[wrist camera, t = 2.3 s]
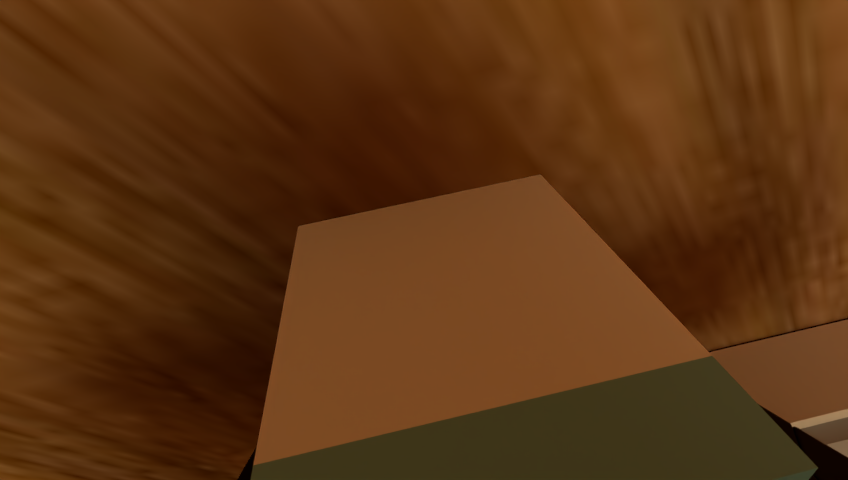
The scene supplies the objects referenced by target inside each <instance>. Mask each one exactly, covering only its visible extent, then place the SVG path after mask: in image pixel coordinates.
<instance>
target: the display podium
mask: <svg viewBox="0 0 848 480" xmlns="http://www.w3.org/2000/svg"><path fill="white" fill-rule="evenodd" d="M709 353H710V354H711V355H712V356H713V357H714V358H715V359H716V360H717V361H718V362H719V363H720V365H721V366H722V367H723V368H724V369H725V370H726V371H727V372H728V373H729V374H730V375H731V376H732V377H733V378H734V379H735V380H736V381H737V382H738V384H739V385H740V386H741V387H742V388H743V389H744V390H745V391H746V392H747V393H748V394H749V395H750V396H751V397H752V398H753V399H754V400H755V402H756V403H758V404H759V405H761V406H763V407H764V408H766V409H767V410H769V411H771V412H772V413H774V414H776V415H777V416H779V417H781V418H782V419H784V420H786V421H787V422H789V423H790V424H791V425H792V427H798V428H799V429H801V430H803V431H804V432H806V433H807V434H809V435H811V436H812V437H814V438H816V439H817V440H819V441H821V442H822V443H824V444H826V445H828V446H829V447H831V448H833V449H835V450H836V451H838V452H840V453H841V454H843V455H845V456H847V457H848V319H847V320H843V321H839V322H835V323H830V324H826V325H822V326H818V327H814V328H809V329H805V330H801V331H797V332H793V333H788V334H784V335H780V336H776V337H772V338H767V339H763V340H759V341H755V342H751V343H746V344H742V345H738V346H734V347H730V348H726V349H721V350H717V351H713V352H709Z"/></svg>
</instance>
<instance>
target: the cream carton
mask: <svg viewBox="0 0 848 480" xmlns="http://www.w3.org/2000/svg"><path fill="white" fill-rule="evenodd" d="M817 469H818V467H817V466H816V465H815V464H814V463H813V462H812V461H811V460H810V459H809V458H808V456H807V455H806V454H805V453H804V452H803V451H802V450H801V449H800V448H799V447H798V446H797V445H796V444H795V443H794V442H793V441H792V440H791V439H790V437H789V436H788V435H787V434H786V433H785V432H784V431H783V430H782V429H781V428H780V427H779V426H778V425H777V424H776V423H775V422H774V421H773V419H772V418H771V417H770V416H769V415H768V414H767V413H766V412H765V411H764V410H763V409H762V408H761V407H760V406H759V405H758V404H757V403H756V402H755V400H754V399H753V398H752V397H751V396H750V395H749V394H748V393H747V392H746V391H745V390H744V389H743V388H742V387H741V386H740V385H739V384H738V382H737V381H736V380H735V379H734V378H733V377H732V376H731V375H730V374H729V373H728V372H727V371H726V370H725V369H724V368H723V367H722V366H721V365H720V363H719V362H718V361H717V360H716V359H715V358H714V357H713V356H712V355H711V354H710V353H709V352H708V351H707V350H706V349H705V348H704V347H703V345H702V344H701V343H700V342H699V341H698V340H697V339H696V338H695V337H694V336H693V335H692V334H691V333H690V332H689V331H688V330H687V329H686V328H685V326H684V325H683V324H682V323H681V322H680V321H679V320H678V319H677V318H676V317H675V316H674V315H673V314H672V313H671V312H670V311H669V310H668V308H667V307H666V306H665V305H664V304H663V303H662V302H661V301H660V300H659V299H658V298H657V297H656V296H655V295H654V294H653V293H652V292H651V291H650V289H649V288H648V287H647V286H646V285H645V284H644V283H643V282H642V281H641V280H640V279H639V278H638V277H637V276H636V275H635V274H634V273H633V271H632V270H631V269H630V268H629V267H628V266H627V265H626V264H625V263H624V262H623V261H622V260H621V259H620V258H619V257H618V256H617V255H616V254H615V252H614V251H613V250H612V249H611V248H610V247H609V246H608V245H607V244H606V243H605V242H604V241H603V240H602V239H601V238H600V237H599V236H598V234H597V233H596V232H595V231H594V230H593V229H592V228H591V227H590V226H589V225H588V224H587V223H586V222H585V221H584V220H583V219H582V218H581V217H580V215H579V214H578V213H577V212H576V211H575V210H574V209H573V208H572V207H571V206H570V205H569V204H568V203H567V202H566V201H565V200H564V199H563V197H562V196H561V195H560V194H559V193H558V192H557V191H556V190H555V189H554V188H553V187H552V186H551V185H550V184H549V183H548V182H547V181H546V180H545V178H544V177H543V176H542V175H541V174H540V175H535V176H530V177H526V178H521V179H516V180H512V181H507V182H502V183H498V184H493V185H488V186H483V187H479V188H474V189H469V190H465V191H460V192H455V193H451V194H446V195H441V196H437V197H432V198H427V199H423V200H418V201H413V202H409V203H404V204H399V205H395V206H390V207H385V208H380V209H376V210H371V211H366V212H362V213H357V214H352V215H348V216H343V217H338V218H334V219H329V220H324V221H320V222H315V223H310V224H306V225H301V226H298V230H297V235H296V241H295V246H294V251H293V257H292V262H291V267H290V273H289V278H288V283H287V288H286V294H285V299H284V304H283V310H282V315H281V320H280V326H279V331H278V336H277V342H276V347H275V352H274V357H273V363H272V368H271V373H270V379H269V384H268V389H267V395H266V400H265V405H264V411H263V416H262V421H261V427H260V432H259V437H258V442H257V448H256V453H255V458H254V464H253V469H252V474H251V480H809V478H810V477H811V476H812V475H813V474H814V472H815V471H816V470H817Z"/></svg>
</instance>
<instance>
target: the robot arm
mask: <svg viewBox="0 0 848 480" xmlns="http://www.w3.org/2000/svg"><path fill="white" fill-rule="evenodd" d="M757 404H758V403H757ZM758 405H759V404H758ZM759 406H760V407H761V408H762V409H763V410H764V411H765V412H766V413H767V414H768V415H769V416H770V417H771V418H772V419H773V421H774V422H775V423H776V424H777V425H778V426H779V427H780V428H781V429H782V430H783V431H784V432H785V433H786V434H787V435H788V436H789V437H790V439H791V440H792V441H793V442H794V443H795V444H796V445H797V446H798V447H799V448H800V449H801V450H802V451H803V452H804V453H805V454H806V455H807V456H808V458H809V459H810V460H811V461H812V462H813V463H814V464H815V465H816V466H817V467H818V469H817V470H816V471H815V472H814V474H813V475H812V476H811V477H810V478H809V480H848V457H847V456H845V455H843V454H841V453H840V452H838V451H836V450H835V449H833V448H831V447H829V446H828V445H826V444H824V443H822V442H821V441H819V440H817V439H816V438H814V437H812V436H811V435H809V434H807V433H806V432H804V431H803V430H801V429H799V428H798V427H792V425H791V424H790V423H789V422H787V421H786V420H784V419H782V418H781V417H779V416H777V415H776V414H774V413H772V412H771V411H769V410H767V409H766V408H764V407H763V406H761V405H759ZM256 448H257V447H256ZM256 448H255V450H254V452H253V454H252V455H251V457H250V459H249V460H248V462H247V464H246V466H245V467H244V469H243V471H242V472H241V474H240V476H239V478H238V479H237V480H251V474H252V469H253V464H254V458H255V453H256Z"/></svg>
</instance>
